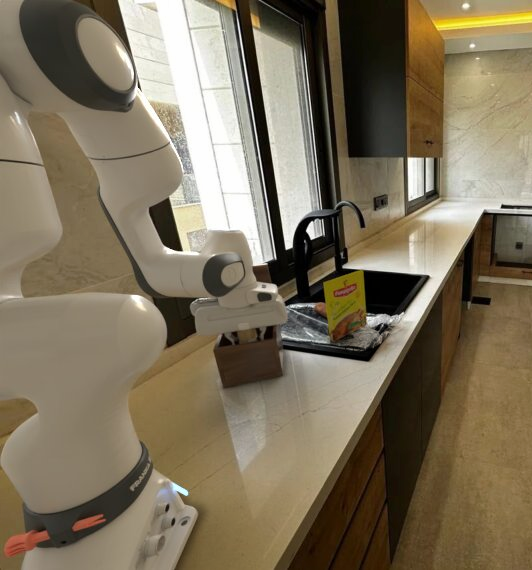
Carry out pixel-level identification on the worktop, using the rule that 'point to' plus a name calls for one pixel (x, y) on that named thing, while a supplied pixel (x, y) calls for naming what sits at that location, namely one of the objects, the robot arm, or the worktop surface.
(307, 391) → the worktop surface
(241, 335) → the sprinkles bottle
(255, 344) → the chest
